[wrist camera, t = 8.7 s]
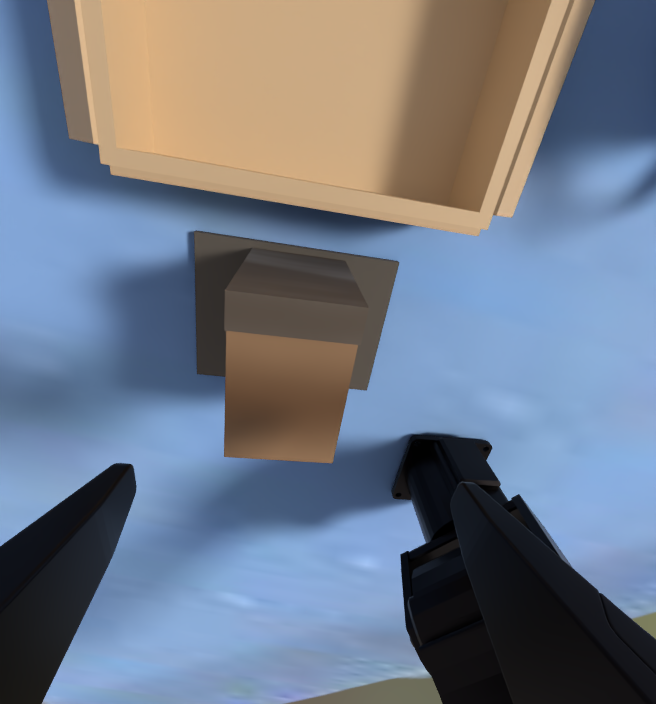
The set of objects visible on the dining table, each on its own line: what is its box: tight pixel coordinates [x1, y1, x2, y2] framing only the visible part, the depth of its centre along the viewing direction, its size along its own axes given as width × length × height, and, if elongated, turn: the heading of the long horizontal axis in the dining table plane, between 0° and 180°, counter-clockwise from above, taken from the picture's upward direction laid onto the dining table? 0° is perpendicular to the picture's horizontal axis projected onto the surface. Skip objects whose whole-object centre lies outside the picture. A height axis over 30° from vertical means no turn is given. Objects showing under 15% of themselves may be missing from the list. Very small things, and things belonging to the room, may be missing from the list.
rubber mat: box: [194, 231, 399, 390], centre depth 20 cm, size 9×11×1 cm
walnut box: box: [224, 248, 369, 463], centre depth 17 cm, size 8×5×7 cm, turn 171°
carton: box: [47, 0, 595, 236], centre depth 13 cm, size 12×19×5 cm, turn 81°
